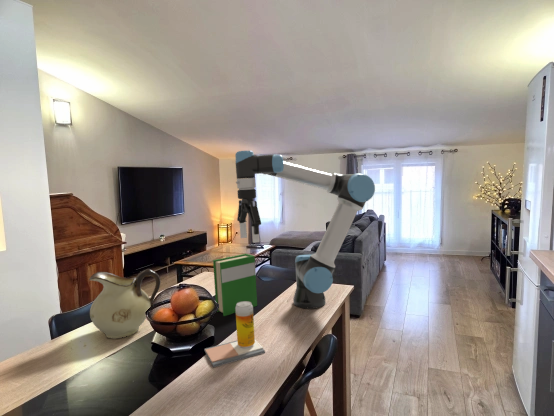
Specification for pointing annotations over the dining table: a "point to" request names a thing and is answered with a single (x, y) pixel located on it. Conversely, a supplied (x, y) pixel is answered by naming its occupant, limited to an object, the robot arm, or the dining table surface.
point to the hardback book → (234, 282)
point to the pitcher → (121, 303)
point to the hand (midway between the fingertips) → (249, 240)
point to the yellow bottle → (245, 324)
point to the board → (231, 352)
